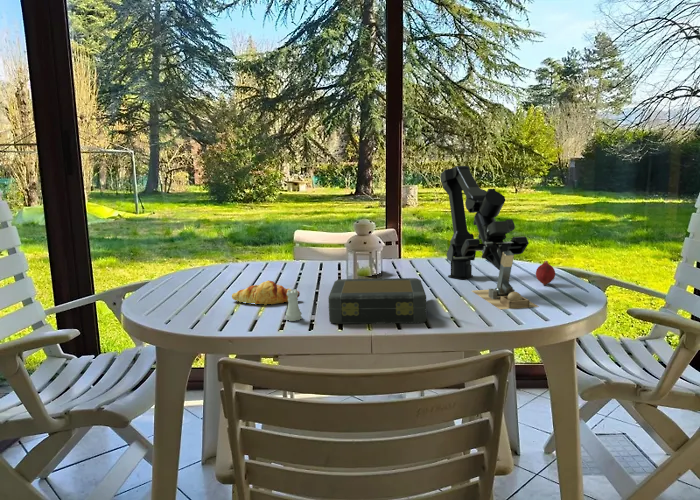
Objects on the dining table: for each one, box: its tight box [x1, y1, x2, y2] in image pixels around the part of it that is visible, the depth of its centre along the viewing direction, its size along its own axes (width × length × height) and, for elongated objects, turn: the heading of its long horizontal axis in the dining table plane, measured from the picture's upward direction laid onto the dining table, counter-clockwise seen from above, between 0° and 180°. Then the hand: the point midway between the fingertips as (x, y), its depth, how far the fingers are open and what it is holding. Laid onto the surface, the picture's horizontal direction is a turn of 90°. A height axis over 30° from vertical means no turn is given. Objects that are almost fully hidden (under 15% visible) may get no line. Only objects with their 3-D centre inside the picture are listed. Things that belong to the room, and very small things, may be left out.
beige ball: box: [508, 291, 523, 301], centre depth 130 cm, size 4×4×4 cm
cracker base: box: [471, 288, 540, 310], centre depth 137 cm, size 20×11×4 cm, turn 8°
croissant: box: [231, 280, 301, 306], centre depth 146 cm, size 21×10×8 cm, turn 85°
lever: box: [494, 251, 515, 297], centre depth 134 cm, size 5×3×14 cm, turn 8°
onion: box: [535, 260, 556, 286], centre depth 156 cm, size 6×6×8 cm
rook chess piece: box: [285, 288, 303, 322], centre depth 128 cm, size 4×4×8 cm
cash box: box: [327, 277, 427, 325], centre depth 132 cm, size 25×20×8 cm
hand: (503, 270), depth 136 cm, fingers closed, pressing on lever
